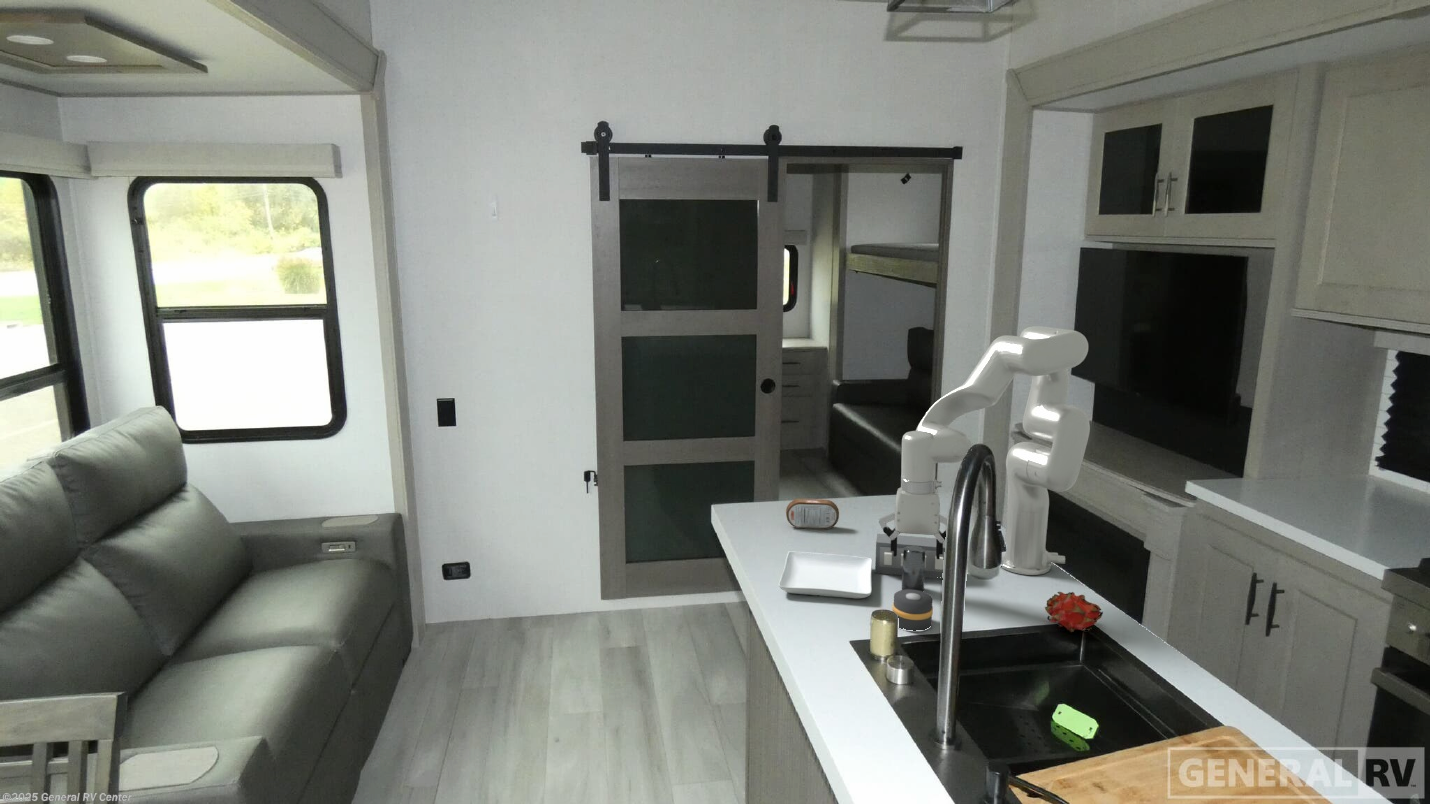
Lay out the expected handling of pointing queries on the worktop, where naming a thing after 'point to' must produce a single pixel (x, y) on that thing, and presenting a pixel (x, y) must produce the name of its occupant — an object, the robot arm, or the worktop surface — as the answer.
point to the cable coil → (913, 609)
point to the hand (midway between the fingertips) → (916, 555)
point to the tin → (812, 513)
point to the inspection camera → (913, 568)
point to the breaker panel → (894, 564)
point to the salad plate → (827, 575)
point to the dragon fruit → (1072, 611)
